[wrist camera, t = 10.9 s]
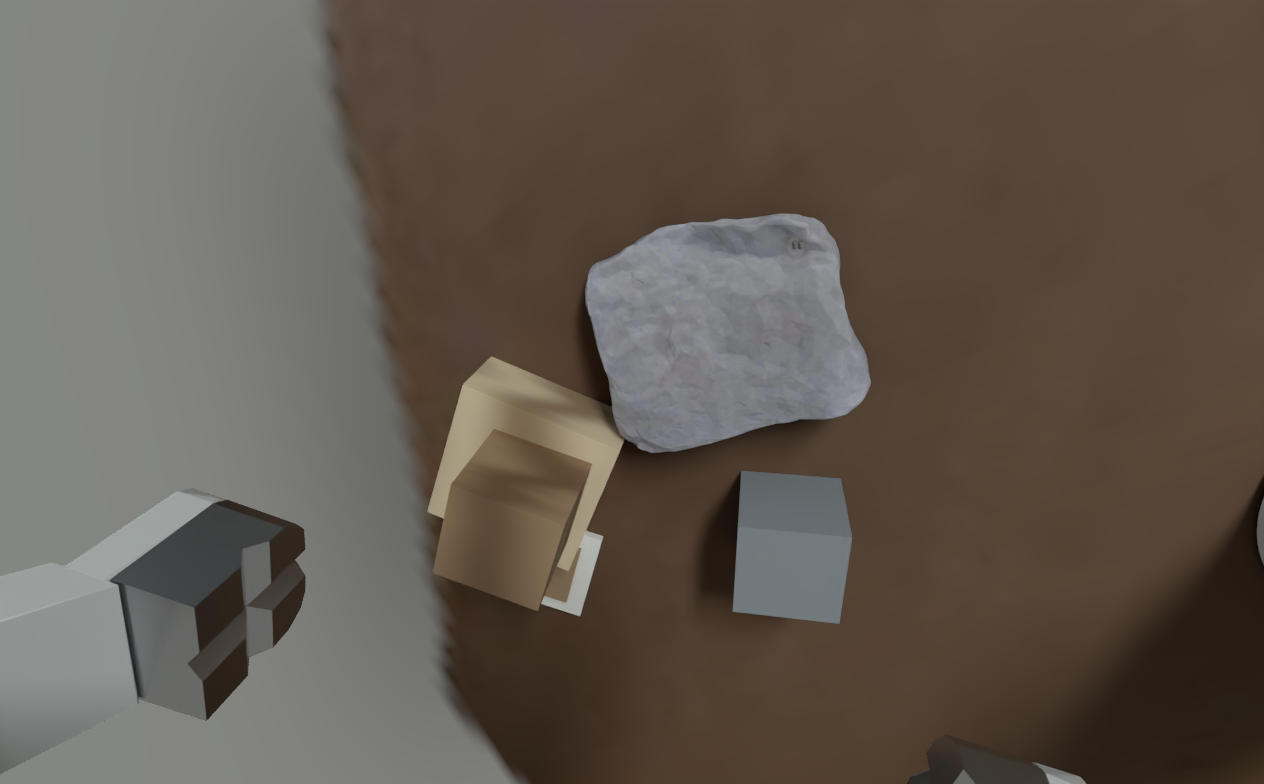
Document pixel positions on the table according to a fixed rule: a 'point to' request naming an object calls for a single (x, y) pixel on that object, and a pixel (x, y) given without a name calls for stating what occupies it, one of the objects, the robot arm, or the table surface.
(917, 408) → the table surface
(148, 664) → the robot arm
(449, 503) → the walnut cube
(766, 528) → the slate cube
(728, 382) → the stone block
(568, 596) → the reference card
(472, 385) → the oak base block
